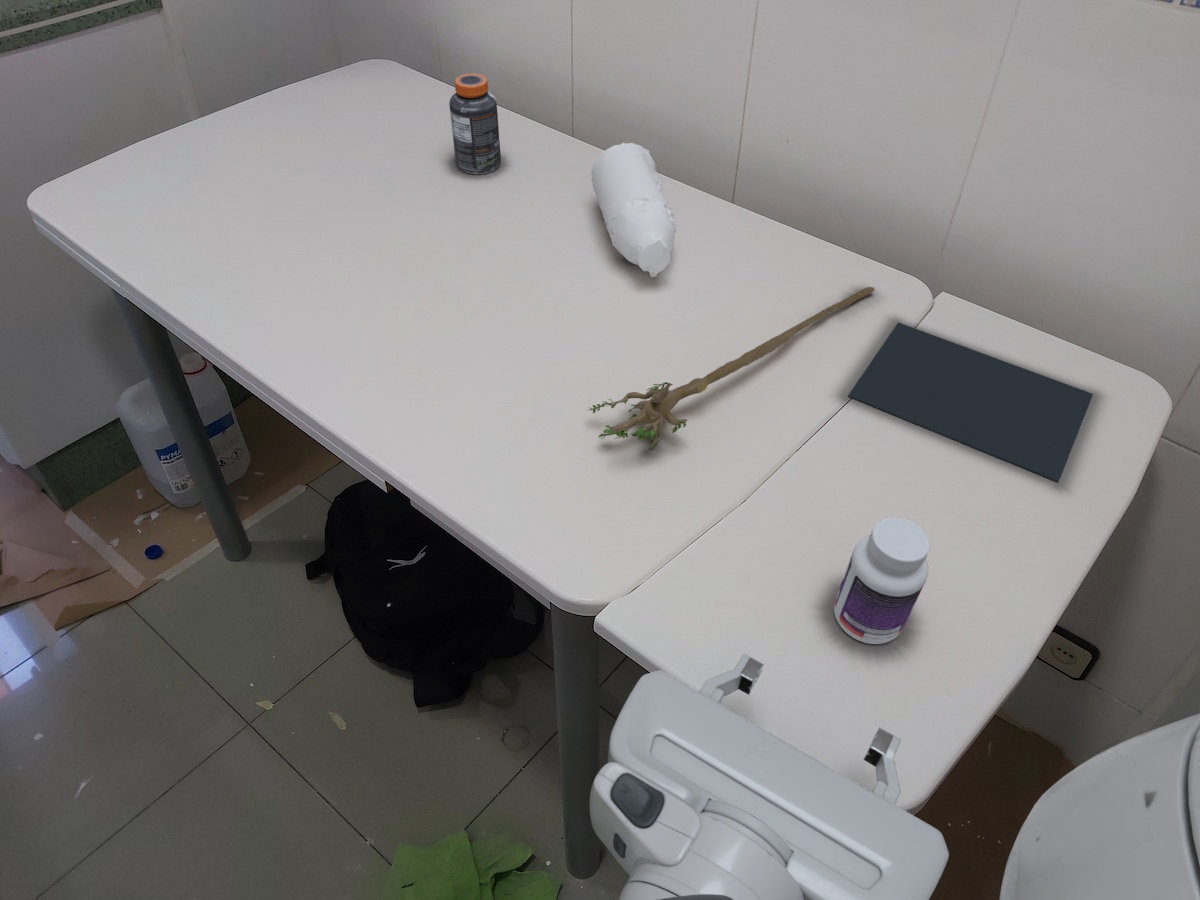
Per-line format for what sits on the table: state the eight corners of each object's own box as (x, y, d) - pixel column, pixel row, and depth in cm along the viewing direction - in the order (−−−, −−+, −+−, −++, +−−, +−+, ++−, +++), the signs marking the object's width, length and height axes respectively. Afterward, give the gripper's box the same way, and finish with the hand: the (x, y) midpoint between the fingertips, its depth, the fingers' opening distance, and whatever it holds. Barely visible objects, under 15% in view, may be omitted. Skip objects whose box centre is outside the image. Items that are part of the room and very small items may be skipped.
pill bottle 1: (499, 152, 119) (494, 67, 110) (502, 174, 115) (497, 88, 106) (455, 154, 118) (446, 69, 110) (456, 176, 114) (447, 90, 106)
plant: (866, 290, 98) (884, 227, 92) (921, 327, 94) (944, 263, 88) (572, 430, 82) (572, 364, 77) (622, 482, 78) (626, 416, 72)
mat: (1092, 395, 87) (1093, 393, 87) (1058, 482, 79) (1058, 481, 79) (897, 323, 94) (898, 322, 94) (847, 396, 86) (848, 395, 86)
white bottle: (616, 294, 97) (618, 231, 91) (590, 204, 110) (591, 144, 104) (686, 288, 98) (693, 226, 92) (653, 199, 111) (657, 140, 105)
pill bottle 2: (914, 641, 67) (953, 565, 60) (846, 650, 66) (878, 574, 59) (887, 583, 71) (922, 505, 64) (823, 591, 70) (850, 512, 63)
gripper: (915, 991, 43) (995, 763, 51) (569, 766, 50) (687, 598, 59) (882, 1021, 48) (961, 807, 56) (570, 810, 55) (679, 648, 63)
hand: (818, 698), depth 57 cm, fingers open, 8 cm apart
